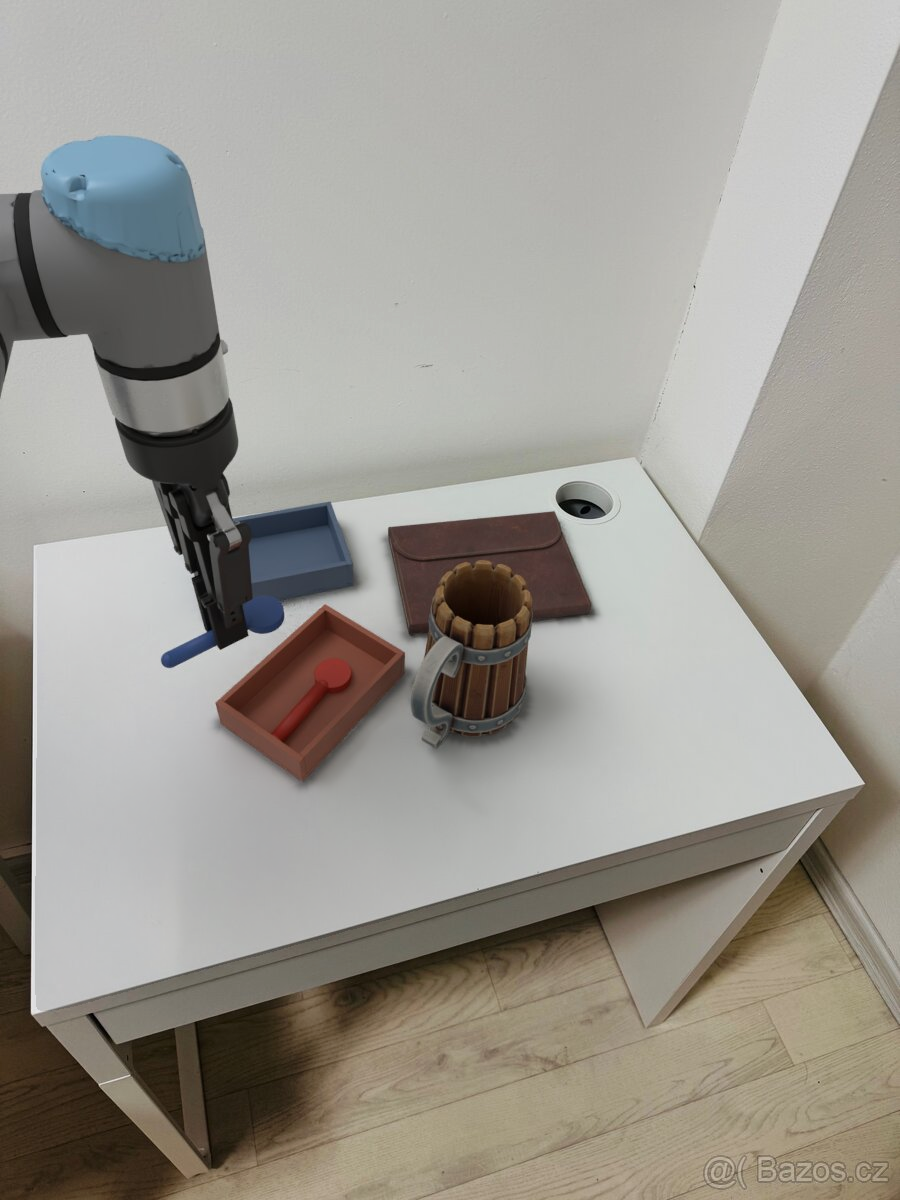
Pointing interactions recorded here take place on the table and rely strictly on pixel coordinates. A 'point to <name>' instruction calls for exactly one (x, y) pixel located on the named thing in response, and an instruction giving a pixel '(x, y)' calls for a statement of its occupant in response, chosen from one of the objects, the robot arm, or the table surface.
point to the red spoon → (316, 694)
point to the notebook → (505, 540)
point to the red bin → (291, 676)
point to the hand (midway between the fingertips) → (226, 632)
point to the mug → (474, 653)
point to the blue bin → (297, 552)
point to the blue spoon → (259, 617)
